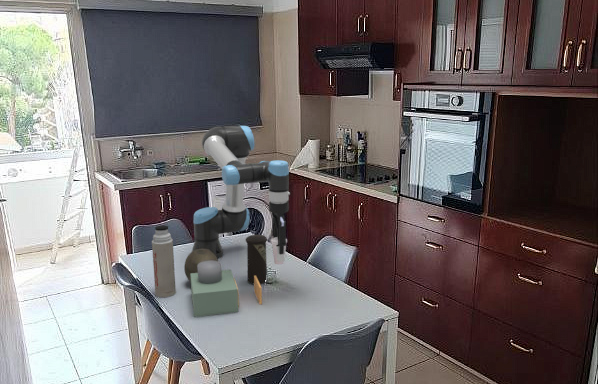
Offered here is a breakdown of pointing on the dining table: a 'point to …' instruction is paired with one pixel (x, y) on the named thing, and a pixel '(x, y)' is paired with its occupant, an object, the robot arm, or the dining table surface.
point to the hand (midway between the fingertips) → (279, 258)
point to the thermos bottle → (163, 262)
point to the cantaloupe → (197, 260)
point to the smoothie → (274, 243)
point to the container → (256, 258)
